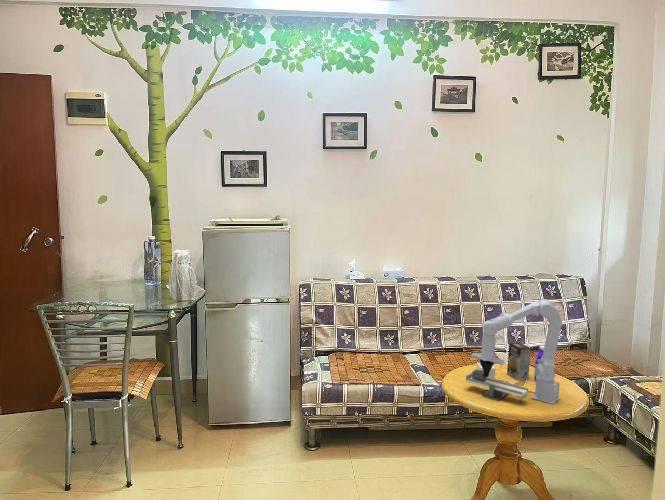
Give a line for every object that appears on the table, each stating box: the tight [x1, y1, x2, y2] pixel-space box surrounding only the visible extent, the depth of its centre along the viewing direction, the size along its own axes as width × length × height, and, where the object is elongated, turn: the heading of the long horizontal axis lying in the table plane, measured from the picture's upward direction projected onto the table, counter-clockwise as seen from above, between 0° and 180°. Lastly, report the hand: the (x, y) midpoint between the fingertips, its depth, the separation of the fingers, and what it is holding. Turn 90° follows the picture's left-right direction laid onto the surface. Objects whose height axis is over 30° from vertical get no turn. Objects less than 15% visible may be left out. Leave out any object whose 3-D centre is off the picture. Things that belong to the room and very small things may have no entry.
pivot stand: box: [481, 380, 510, 402], centre depth 237 cm, size 8×10×6 cm
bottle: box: [533, 345, 545, 381], centre depth 254 cm, size 7×6×17 cm
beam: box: [465, 372, 529, 401], centre depth 237 cm, size 26×7×5 cm, turn 49°
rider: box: [471, 369, 486, 382], centre depth 242 cm, size 5×4×4 cm
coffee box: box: [506, 341, 532, 381], centre depth 260 cm, size 9×6×16 cm
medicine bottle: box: [476, 359, 496, 380], centre depth 256 cm, size 7×7×12 cm
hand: (486, 376), depth 240 cm, fingers closed
